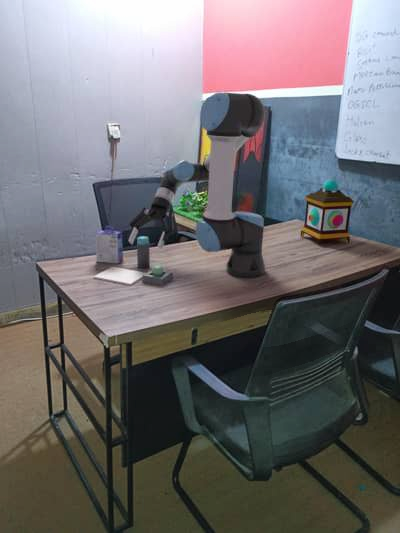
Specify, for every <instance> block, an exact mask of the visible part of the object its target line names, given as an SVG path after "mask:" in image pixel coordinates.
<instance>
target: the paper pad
mask: <svg viewBox="0 0 400 533" xmlns="http://www.w3.org/2000/svg"><path fill="white" fill-rule="evenodd" d="M146 273H147V272H144V271H139V270H138V271H137V270H132V269H127V268H122V267H115V266H110V267H109V268H107V269H106V270H103V271H101V272H99V273H97V274H95V275H94V276H93V278H94V279H96V280H102V281H107V282H113V283H118V284H122V285H127V286H132V285H134V284H135V283H137V282H138V281H139V282H140V280H143V275H144V274H146Z"/></svg>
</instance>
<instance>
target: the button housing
mask: <svg viewBox="0 0 400 533" xmlns="http://www.w3.org/2000/svg"><path fill="white" fill-rule="evenodd" d="M145 273H146V274H144V275H143V278H142V282H143V283H147V284H153V285H158V286H164V285H165V284H166V283H168V282H170V280H172V279H173V271H169V270H164V269H163V275H162V276H160V277H159V276H153V275H152V269H151V270H149V271H147V272H145Z"/></svg>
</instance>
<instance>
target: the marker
mask: <svg viewBox="0 0 400 533" xmlns="http://www.w3.org/2000/svg"><path fill="white" fill-rule="evenodd" d="M136 240H137V241H136V242H137V243H136V253H137V268H138V269H141V270H145V269H149V268H151V267H150V266H151V263H150V261H151V258H150V254H151V253H150V240H149V236H145V235H142V236H137V237H136Z"/></svg>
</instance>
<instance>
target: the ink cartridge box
mask: <svg viewBox="0 0 400 533" xmlns="http://www.w3.org/2000/svg"><path fill="white" fill-rule="evenodd" d="M109 228H110V229H109ZM114 228H115V226H113V225H105V228H104V230H98V231H97V232H96V233H94V237H95V238H94V239H95V254H96V262H99V263H110V264H120V263H121V262H123V261H124V249H123V248H124V247H123V232H122V231H116V230H115V231H114Z"/></svg>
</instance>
